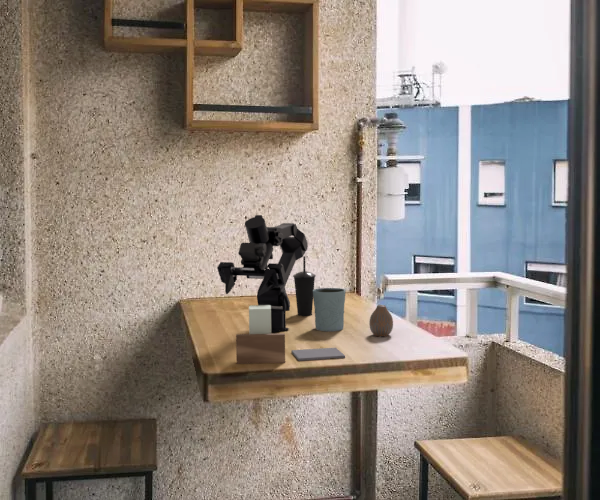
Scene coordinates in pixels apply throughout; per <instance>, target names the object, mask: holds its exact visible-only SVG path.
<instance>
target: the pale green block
mask: <svg viewBox="0 0 600 500" xmlns="http://www.w3.org/2000/svg"><path fill="white" fill-rule="evenodd" d="M248 329H249V330H248V331H249V332H248V334H272V332H271V305H258V304H257V305H255V304H254V305H253V304H252V305H249V307H248Z"/></svg>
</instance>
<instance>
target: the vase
mask: <svg viewBox="0 0 600 500" xmlns="http://www.w3.org/2000/svg"><path fill="white" fill-rule="evenodd" d="M368 324H369V330H370V332H371V333H372V334H373V335H374V336H375V337H380V336H384V337H387V336H390V334H391V333H392V331H393V329H394V320H393V316H392V314H391V313H390V311H389V310H388V308H387V306H386V305H385V304H378V305H377V306H376V307H375V309H374V310H373V311H372V313H371V315H370V317H369V323H368Z"/></svg>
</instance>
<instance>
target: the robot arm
mask: <svg viewBox="0 0 600 500" xmlns="http://www.w3.org/2000/svg"><path fill="white" fill-rule="evenodd" d="M244 227H245V231H246V233H247V237H248V238H247V239H248V241H249V242H241V243H240V246H239V248H238V255H239V257H240V258H241V260H240V263H241V266H235V263H234V262H232V261H229V262H227V261H224V262H223V261H220V262H219V264H218V265H217V267H216V268H217V272H218V274H219V279H220V281H221V282H222V283H223V284H224V287H225V288H224V289H225V291H224V292H225V294H226V295H229V293H230V292H232V290H233V288H234V287H235V285H236V283H235V282H236V281H237V279H238V276H241V277H243V276H244V277H246V279H252V280H253V279H254V280H255V279H257V280H258V279H260V280H261V282H260V284H259V287H258V290H257V294H256V299H257V305H271V333H278V332H284V331H289V329H290V328H289V327H286V325H287V324H286V314H287V312H289V311H290V309H291V308H290V307H291V301H290V299H289V296H288V294H287V291H286V285H287V282H288V281H289V277H290V275H291V273H292V271H293V268H294V266H295V263H296V261H298V260H300V259H301V258H302V259H303V256H304V255H305V253H306V252H307V251H308V248H309V247H308V245H309V243H308V239H307V237H306V234H305V233H304V232H302V231H301V230H300V229H298V227H297V224H296V223H292V222H291V223H289V222H287V223H286V222H285V223H284V222H283V223H280V224H279V225H275V226H267V223H266V219H265V218H264V216H263V215H262V214H256V215H255V216H254V217H251V218H248V219H247V220H245V222H244ZM274 247H280V249H281V253H282V254H281V255H280V258H279V261H278V262H277V263H275V262H274V263H271V262H270V263H269V260H273V259H274V255H273V251H274Z"/></svg>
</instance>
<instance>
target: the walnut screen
mask: <svg viewBox="0 0 600 500" xmlns="http://www.w3.org/2000/svg"><path fill="white" fill-rule="evenodd" d="M235 346H236V349H235V350H236V351H235V352H236V353H235V354H236V356H235V357H236V364H240V365H241V364H275V363H276V364H278V363H286V334H285V332H284V333H280V332H279V333H278V332H277V333H271V334H249V333H244V334H243V333H242V334H241V333H240V334H238V333H237V334H235Z"/></svg>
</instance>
